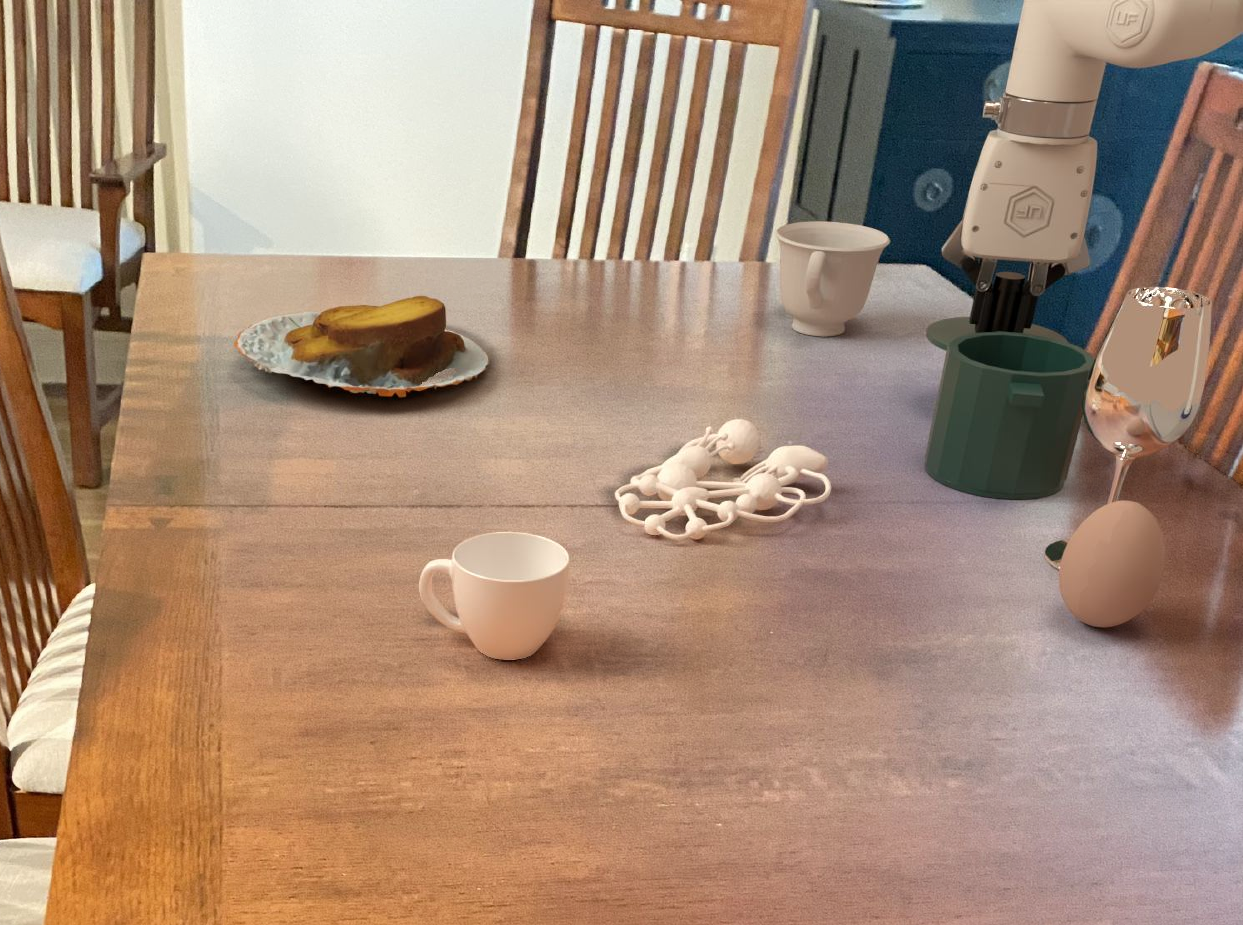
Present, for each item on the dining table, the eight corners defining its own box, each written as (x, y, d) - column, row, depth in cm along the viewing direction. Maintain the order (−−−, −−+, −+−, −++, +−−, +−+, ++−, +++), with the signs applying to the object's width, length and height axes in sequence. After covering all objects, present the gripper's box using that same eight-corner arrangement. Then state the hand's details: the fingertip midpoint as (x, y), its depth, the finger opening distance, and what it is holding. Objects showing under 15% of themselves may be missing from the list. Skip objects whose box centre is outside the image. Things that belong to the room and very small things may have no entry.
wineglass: (1020, 550, 117) (1085, 288, 106) (1097, 535, 119) (1168, 277, 108) (1092, 591, 111) (1169, 318, 100) (1172, 574, 114) (1256, 306, 102)
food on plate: (278, 326, 163) (276, 264, 159) (505, 343, 159) (508, 280, 156) (204, 402, 142) (199, 332, 138) (463, 424, 138) (465, 353, 135)
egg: (1165, 630, 106) (1203, 509, 101) (1105, 654, 103) (1141, 530, 98) (1086, 595, 110) (1119, 477, 105) (1026, 616, 107) (1057, 496, 102)
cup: (555, 679, 99) (561, 586, 95) (407, 663, 100) (407, 571, 96) (570, 626, 105) (576, 537, 101) (430, 612, 106) (431, 523, 103)
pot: (1052, 445, 136) (1082, 329, 130) (1075, 518, 122) (1108, 391, 116) (920, 433, 138) (943, 318, 132) (928, 503, 124) (954, 378, 119)
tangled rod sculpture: (706, 580, 114) (715, 532, 112) (570, 508, 122) (575, 462, 120) (856, 507, 125) (867, 462, 122) (721, 446, 133) (729, 402, 130)
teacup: (745, 344, 160) (757, 247, 154) (775, 308, 172) (787, 216, 166) (859, 359, 156) (876, 260, 151) (882, 321, 168) (898, 228, 162)
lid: (1057, 334, 144) (1075, 263, 140) (1073, 375, 134) (1092, 299, 130) (922, 323, 146) (935, 253, 142) (927, 362, 136) (941, 288, 132)
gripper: (950, 121, 127) (908, 338, 137) (1152, 132, 124) (1094, 353, 135) (945, 106, 133) (906, 315, 144) (1138, 117, 130) (1084, 329, 141)
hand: (997, 332), depth 139 cm, fingers closed on lid, 2 cm apart
